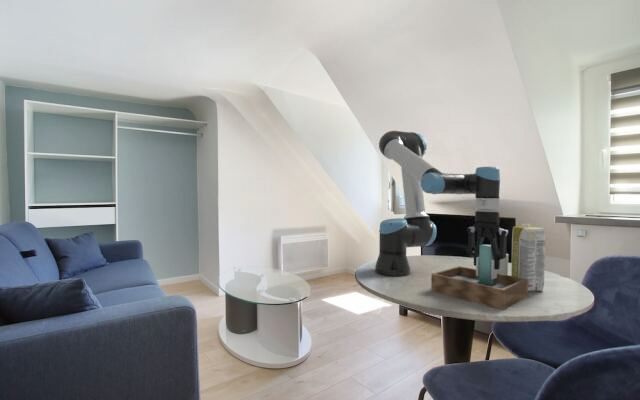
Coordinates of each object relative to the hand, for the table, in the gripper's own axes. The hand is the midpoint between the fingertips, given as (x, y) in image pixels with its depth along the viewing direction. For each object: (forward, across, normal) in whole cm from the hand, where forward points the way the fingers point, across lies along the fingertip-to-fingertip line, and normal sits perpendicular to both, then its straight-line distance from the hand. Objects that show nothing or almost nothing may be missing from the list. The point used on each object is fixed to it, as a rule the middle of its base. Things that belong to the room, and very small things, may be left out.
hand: (486, 276), depth 112 cm
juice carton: (+6, +7, +17) cm, 19 cm away
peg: (+3, 0, 0) cm, 3 cm away
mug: (+6, -3, +15) cm, 16 cm away
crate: (+6, -1, -4) cm, 7 cm away
